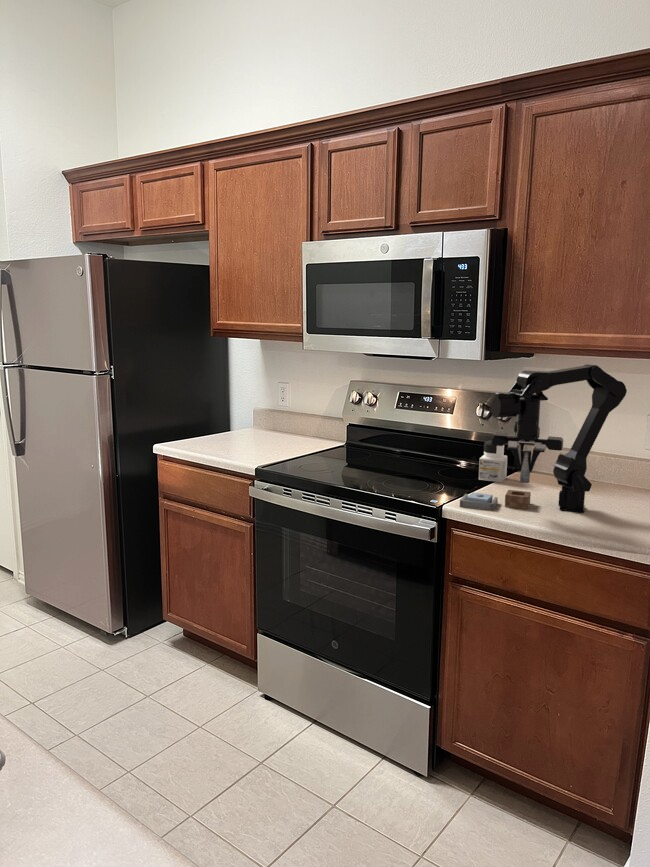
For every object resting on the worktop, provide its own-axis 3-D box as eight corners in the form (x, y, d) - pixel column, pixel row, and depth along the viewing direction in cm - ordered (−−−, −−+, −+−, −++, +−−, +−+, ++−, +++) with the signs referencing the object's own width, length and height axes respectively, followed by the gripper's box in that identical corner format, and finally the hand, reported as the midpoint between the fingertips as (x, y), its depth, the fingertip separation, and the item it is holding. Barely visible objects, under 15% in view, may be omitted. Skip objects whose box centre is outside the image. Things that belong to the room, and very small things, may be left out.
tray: (497, 503, 196) (497, 497, 195) (493, 510, 189) (493, 504, 188) (465, 499, 200) (465, 493, 199) (459, 506, 192) (459, 500, 192)
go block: (530, 503, 196) (530, 491, 195) (527, 509, 190) (528, 497, 189) (507, 500, 198) (508, 489, 197) (504, 506, 192) (505, 495, 192)
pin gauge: (530, 481, 186) (531, 450, 184) (528, 483, 184) (530, 452, 182) (520, 480, 187) (522, 449, 185) (519, 482, 185) (521, 451, 183)
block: (492, 504, 195) (492, 494, 195) (486, 509, 190) (487, 499, 190) (472, 501, 198) (472, 491, 198) (466, 506, 193) (467, 496, 193)
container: (478, 479, 223) (480, 442, 220) (484, 474, 229) (485, 438, 227) (501, 482, 219) (503, 444, 217) (506, 477, 226) (508, 440, 224)
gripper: (566, 414, 185) (562, 468, 188) (498, 410, 193) (496, 462, 196) (563, 420, 175) (559, 477, 178) (492, 416, 183) (489, 470, 186)
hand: (525, 471), depth 185 cm, fingers closed on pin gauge, 3 cm apart
